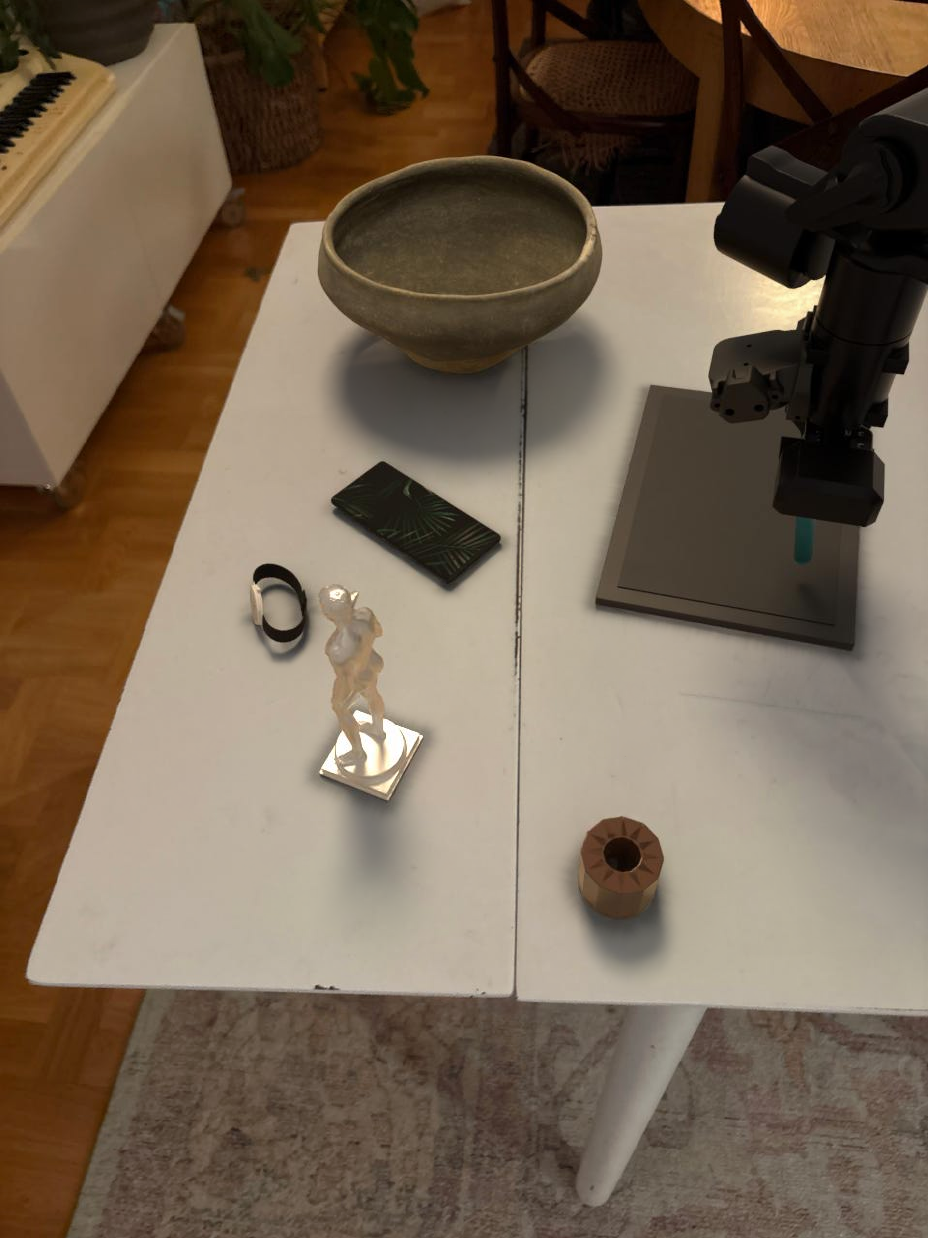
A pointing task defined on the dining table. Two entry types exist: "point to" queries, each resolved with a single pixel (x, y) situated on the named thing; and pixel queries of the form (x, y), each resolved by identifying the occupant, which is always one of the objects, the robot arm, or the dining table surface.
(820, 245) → the robot arm
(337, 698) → the figurine
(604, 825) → the pen stand
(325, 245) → the bowl
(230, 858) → the dining table surface
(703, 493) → the tablet
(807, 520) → the stylus
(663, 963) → the dining table surface
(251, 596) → the watch
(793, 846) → the dining table surface
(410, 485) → the smartphone
